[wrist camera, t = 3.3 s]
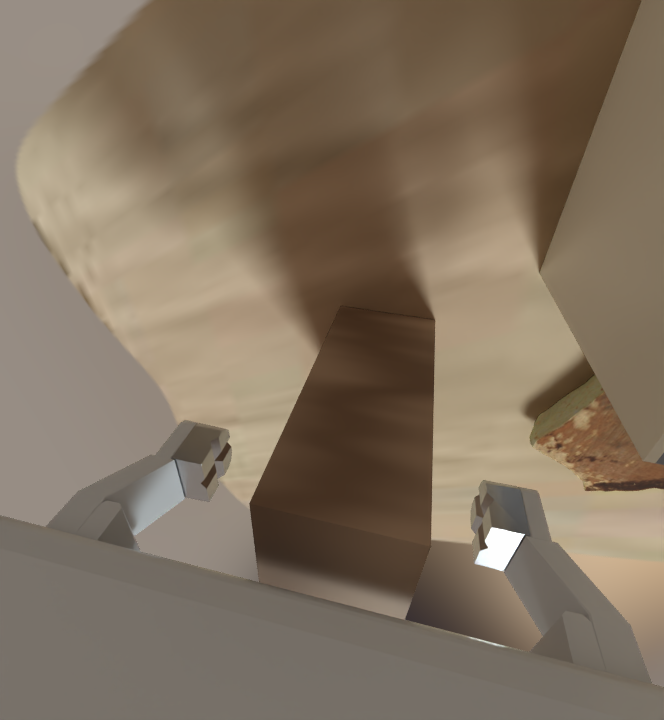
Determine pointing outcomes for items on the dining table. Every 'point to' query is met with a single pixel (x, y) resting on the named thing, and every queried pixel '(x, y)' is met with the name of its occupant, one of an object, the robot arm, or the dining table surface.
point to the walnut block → (354, 469)
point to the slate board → (621, 240)
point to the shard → (593, 442)
